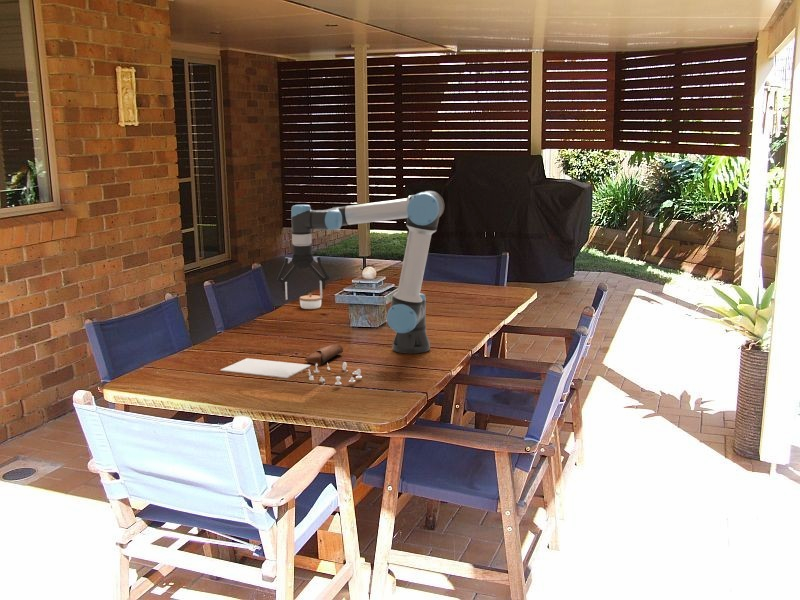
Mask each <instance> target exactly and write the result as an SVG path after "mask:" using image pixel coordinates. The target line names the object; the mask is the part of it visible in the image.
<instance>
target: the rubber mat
mask: <svg viewBox="0 0 800 600" xmlns="http://www.w3.org/2000/svg"><path fill="white" fill-rule="evenodd" d="M311 366H312V364H305V363H304V364H303V363H295V362H287V361H278V360H266V359H258V358H249V357H246V358H245V359H242V360H239V361H237V362H235V363H232V364H231V365H228V366H225V367H223V368H221V369H220V371H221V372H225V373H226V372H227V373H238V374H244V375H253V376H264V377H273V378H280V379H288V378H290V377H292V376H295V375H296V374H298V373H300V372H302V371H304V370H306V369H309V368H310V367H311Z"/></svg>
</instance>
